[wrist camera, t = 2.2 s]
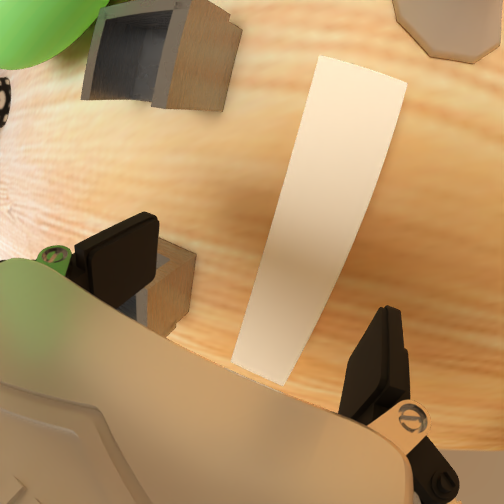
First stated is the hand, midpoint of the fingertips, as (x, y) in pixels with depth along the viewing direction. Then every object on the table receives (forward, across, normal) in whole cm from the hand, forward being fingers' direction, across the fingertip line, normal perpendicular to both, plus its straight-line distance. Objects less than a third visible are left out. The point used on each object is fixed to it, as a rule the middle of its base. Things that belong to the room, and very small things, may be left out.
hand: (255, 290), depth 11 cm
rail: (+9, -1, 0) cm, 9 cm away
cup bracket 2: (+9, +11, +8) cm, 17 cm away
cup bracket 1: (+9, +11, -8) cm, 17 cm away
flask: (+9, -5, -16) cm, 19 cm away
